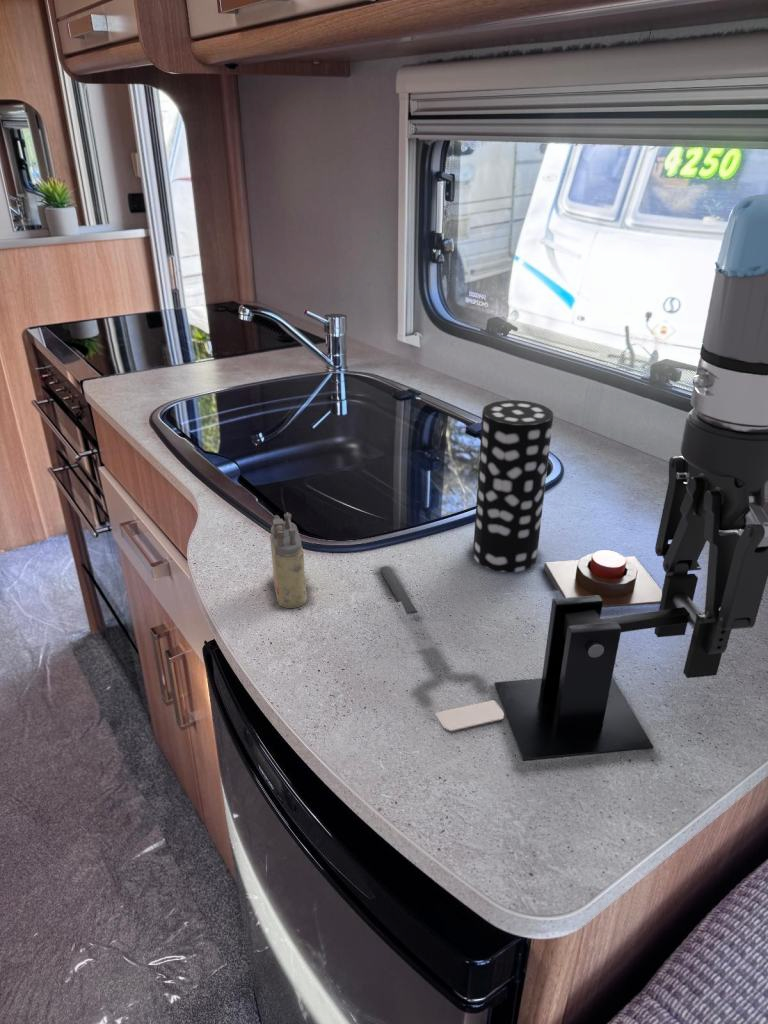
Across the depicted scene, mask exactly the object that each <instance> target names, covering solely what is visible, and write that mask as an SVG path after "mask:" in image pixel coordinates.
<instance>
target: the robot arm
mask: <svg viewBox="0 0 768 1024" xmlns="http://www.w3.org/2000/svg"><path fill="white" fill-rule="evenodd" d="M722 236H723V237H722V239H721V244H720V247H719V251H718V254H717V258H716V260H715V262H714V272H715V273H714V279H713V284H712V289H711V294H710V299H709V305H708V309H707V316H706V320H705V325H704V331H703V336H702V342H701V343H702V344H701V347H700V353H699V359H698V364H697V368H696V373H695V375H694V376H693V377H692V386H693V388H692V392H691V397H690V405H691V406H692V409H691V410H690V411H688V413H687V414H686V419H685V423H684V429H683V434H682V440H681V444H680V454H681V456H672V457H670V458H669V461H668V483H667V488H666V493H665V498H664V501H663V508H662V513H661V518H660V523H659V526H658V531H657V537H656V542H655V547H654V551H655V554H656V556H657V557H662V558H663V561H662V568H663V571H664V572H665V575H664V580H663V584H662V588H661V589H662V598H661V602H660V603H659V607H658V611H660V610H667V609H674V608H676V607H675V605H674V604H673V603H672V597H673V595H674V594H676V593H677V592H684V593H686V595H687V596H688V597H689V598H690V599H691V600H692V602H693V603H694V598H695V594H696V589H697V584H698V580H699V577H698V576H697V574H695V573H689V572H691V571H701V570H702V567H701V565H700V563H699V562H698V560H699V559H700V556H701V554H702V552H703V550H704V547H705V546H706V543H707V542H708V543H709V544H708V560H707V573H706V574H707V575H706V589H705V590H706V591H705V603H704V612H702V613H697V614H696V621H695V625H694V629H693V628H692V630H693V631H692V634H691V638H690V642H689V646H688V650H687V654H686V659H685V664H684V666H683V672H682V673H683V674H684V676H685V677H686V678H687V679H692V678H703V677H713V676H717V674H718V670H719V668H720V663H721V660H722V656H723V654H724V653H725V652H726V650H727V647H728V643H729V640H730V636H731V633H732V630H738V629H740V630H741V629H750V628H754V627H755V624H756V620H757V617H758V614H759V611H760V607H761V603H762V599H763V595H764V592H765V588H766V585H767V581H768V515H767V513H766V512H765V510H764V507H765V505H766V485H767V484H766V483H767V482H768V193H763V194H753V195H749V196H747V197H744V198H742V199H741V200H739V201H738V202H736V204H735V205H734V206H733V207H732V208H731V211H730V213H729V216H728V220H727V223H726V227H725V229H724V232H723V235H722ZM669 541H671V542H669ZM687 628H688V623H683V624H676V625H669V626H662V627H655V628H654V631H653V633H654V634H655V636H656V637H657V638H667V637H676V636H677V637H678V636H685V635H686V631H687Z"/></svg>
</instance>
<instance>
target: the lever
mask: <svg viewBox="0 0 768 1024" xmlns="http://www.w3.org/2000/svg"><path fill="white" fill-rule="evenodd" d="M672 603H673V604H674V605H675V607H676V608H674V609H667V610H660V611H659V610H654V611H647V612H639V613H633V614H632V613H631V614H624V615H618V616H611V617H605V618H601V616H600V617H599V615H598V614H597V612H596V611H595V610H587V611H580V612H573V613H566V614H564V633H563V635H564V637H565V639H566V635H567V628H568V626H572V625H584V624H597V623H610V622H617V623H618V624H619V626H620V627H621V633H627V632H634V631H641V630H647V629H655V627H662V626H669V625H676V624H683V623H687V624H689V625H690V627H691V628H692V630H693V629H694V625H695V621H696V614H697V613H703V612H702V611H701V610H700V608H699V607H698V606H697V605H696V604H695V603H694V601H693V602H692V600H691V599H690V598H689V597H688V596H687V595H686V593H684V592H677V593H676V594H674V595H673V597H672Z"/></svg>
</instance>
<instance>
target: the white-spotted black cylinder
mask: <svg viewBox="0 0 768 1024" xmlns="http://www.w3.org/2000/svg"><path fill="white" fill-rule="evenodd" d="M553 422H554V412H553V411H552V410H551V408H549V407H547V406H545V405H544V404H540V403H537V402H533V401H527V400H517V399H515V400H514V399H511V400H510V399H509V400H508V399H507V400H497V401H493V402H491V403H490V402H489V403H488V404H486V405H485V406H484V407H483V408H482V414H481V427H480V429H481V430H480V442H479V443H480V444H479V459H478V473H477V487H476V488H477V489H476V502H475V515H474V516H475V517H474V533H473V547H472V556H473V559H475V561H476V562H477V563H478V564H479V565H480V566H483V567H485V568H486V569H488V570H491V571H496V572H501V573H516V572H517V573H518V572H523V571H525V570H528V569H530V568H532V567H533V566H534V565H535V564H536V562H537V559H538V550H539V542H540V534H541V526H542V525H541V524H542V518H543V517H542V516H543V509H544V508H543V507H544V499H545V492H546V491H545V490H546V482H547V473H548V465H549V459H550V458H549V457H550V447H551V439H552V430H553Z"/></svg>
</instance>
